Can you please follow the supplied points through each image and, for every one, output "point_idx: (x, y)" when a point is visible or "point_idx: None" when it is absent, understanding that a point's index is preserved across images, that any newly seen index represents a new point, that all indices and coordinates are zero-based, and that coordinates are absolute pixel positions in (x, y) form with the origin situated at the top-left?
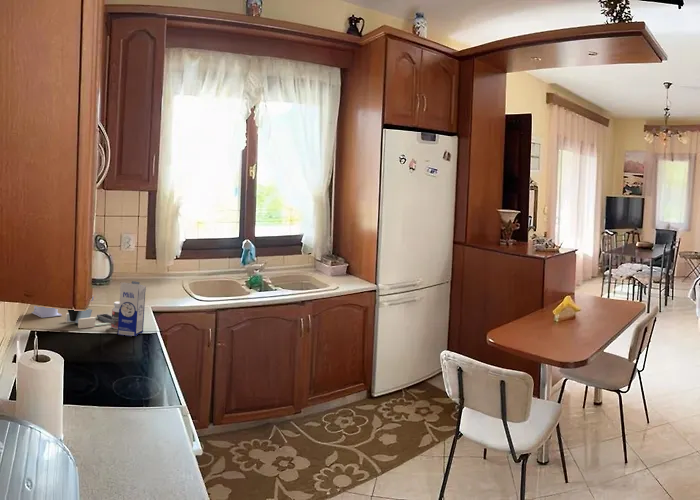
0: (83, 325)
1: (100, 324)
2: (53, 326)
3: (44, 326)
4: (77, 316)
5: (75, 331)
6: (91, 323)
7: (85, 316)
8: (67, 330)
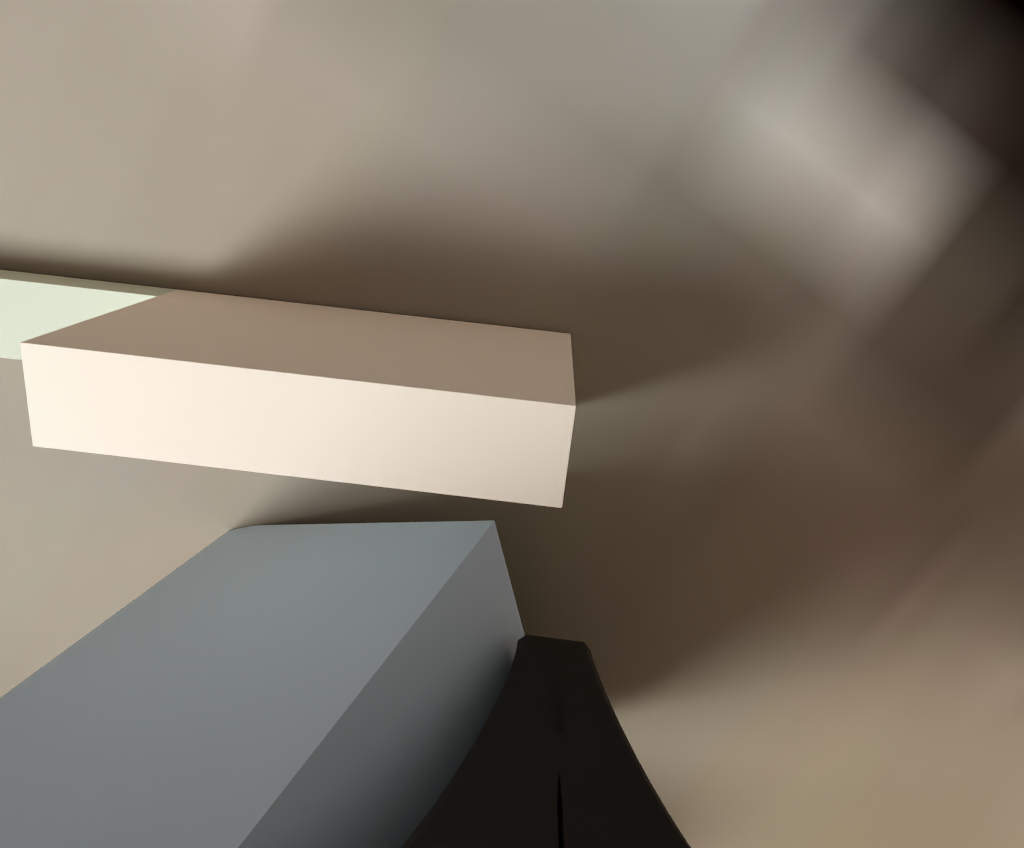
0: (463, 334)
1: (7, 279)
2: (871, 755)
3: (993, 832)
4: (445, 715)
5: (815, 134)
6: (229, 318)
7: (222, 641)
8: (891, 335)
